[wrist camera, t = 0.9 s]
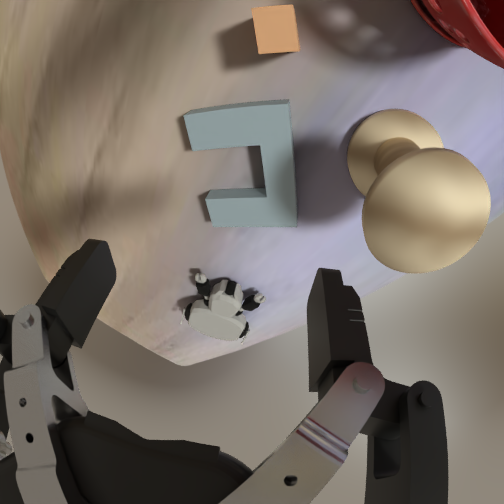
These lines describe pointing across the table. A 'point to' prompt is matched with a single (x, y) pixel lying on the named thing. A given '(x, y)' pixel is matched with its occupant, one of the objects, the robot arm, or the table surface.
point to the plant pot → (468, 24)
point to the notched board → (273, 158)
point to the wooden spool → (415, 193)
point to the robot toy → (221, 310)
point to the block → (276, 29)
